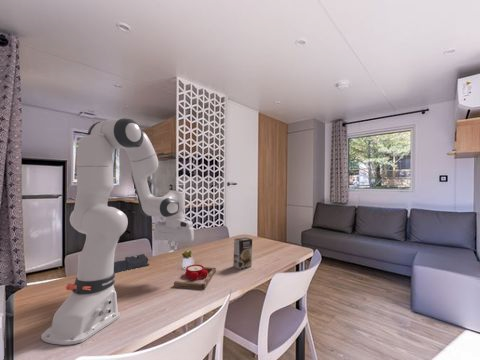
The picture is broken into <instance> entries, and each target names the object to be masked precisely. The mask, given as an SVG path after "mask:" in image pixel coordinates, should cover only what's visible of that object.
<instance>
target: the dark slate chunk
mask: <svg viewBox="0 0 480 360" xmlns="http://www.w3.org/2000/svg"><path fill="white" fill-rule="evenodd" d="M148 261H149V258H148V257H147V256H146V255H145V254H144V253H142V254H138V255H136V256H133V255H132V256H125V257H124V260H117V261H114V272H115V274H118V273H123V272H127V270H128V271H131V269H132V270H136V268H137V269H141V268H146V267H149V266H150V265H151V264H150V263H148ZM122 271H123V272H122Z"/></svg>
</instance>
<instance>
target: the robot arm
mask: <svg viewBox="0 0 480 360" xmlns="http://www.w3.org/2000/svg"><path fill="white" fill-rule="evenodd" d="M142 129H143V128H142V127H141V126H140V124H139V123H138V122H137V121H136V120H134V119H130V118H120V119H119V118H118V119H117V118H116V119H113V118H112V119H111V118H110V119H106V120H103V121H98V122H94V123H93V124H92V125H91V126H90V127H89V129H88V131H87V134H86V135H84V136H82V137H81V138H79V139H78V143H77V148H76V158H75V159H76V161H75V163H76V183H77V184H76V185H77V186H76V187H77V188H76V189H77V190H76V197H75V201H74V202H75V203H74V208H73V210H72V211H71V213H70V216H69V223H70V225H71V227H72V228H73V229H74V230H75V231H77V232H78V233H81V234H84V235H85V241H84V245H83V248H82V250H81V251H80V252H79V254H78V256H77V273H76V274H77V276H76V277H75V280H74V283H67V284H66V286H65V290H66V291H71V293H70V294H69V295H68V296H67V298H66V299H65V300H64V301H63V303H62V304H61V305H60V306H59V308H57V310H56V312H54V315H53V317H52V323H51V326H49V327H48V328H47V329H46V330H45V331H44V332H43V333H42V334H41V335H40V338H41V340H42V341H43V342H45V343H48V344H53V345H63V346H64V345H65V346H67V345H69V346H70V345H76V344H79V343H83V342H84V341H86V340H87V339H89V338H90V337H93V335H96V334H97V333H98V332H99V331H101V330H103V329H104V328H106V327H107V326H108V325H111V324H112V323H114V322H115V321H116V320H118V319H119V318H120V317H121V313H120V312H119V311H118V300H117V299H118V298H117V297H118V296H117V291H116V290H115V286H114V284H115V283H116V282H115V281H116V273H115V272H114V262H115V253H116V248H117V244H118V242H119V240H120V237H121V236H122V235H123V234H124V233H125V232H126V231H127V228H128V224H129V223H128V222H129V220H128V217H127V214H126V213H124V212H123V211H122V210H121V209H118V208H116V207H114V206H108V205H109V204H108V203H109V198H110V195H111V192H112V191H113V190H114V188H115V178H114V177H115V176H114V164H113V163H114V161H113V154H114V151H115V149H116V150H119V149H120V150H121V149H123V150H124V151H125V152H126V154H127V157H128V160H129V163H130V165H131V169H132V170H131V179H132V182H133V186H134V189H135V193H136V197H137V200H138V210H139V212H140V214H141V215H143V216H145V217H156V218H157V217H159V218H160V217H161V218H165V221H164V220H163V221H161V220H158V221H157V222H155V224H154V228H155V230H154V234H153V239H154V240H155V241H156V240H157V241H167V244H168V246H169V250H170V251H171V250H173V251H176V250H177V247H178V245H179V244H180V242H181V243H182V242H184V243H192V242H193V241H194V239H195V231H194V230H195V229H194V227H193V224H194V223H193V221H191V220H188V219H186V218H185V215H184V214H185V213H184V210H185V205H186V204H185V202H186V201H185V199H186V198H185V194H184V192H183V191H181V190H177V189H175V190H174V189H170V190H168V193H166V194H165V195H162V196H155V195H153V194H152V193H151V190H150V187H149V183H148V178H149V177H150V176H152V175H153V174H155V173H156V172H157V171H158V168H159V158H158V156H157V152H156V151H155V148H154V146H153V144H152V142H151V140H150V138H149V137H148V135H147V134H146V132H145V131H143V130H142ZM173 242H174V245H173Z"/></svg>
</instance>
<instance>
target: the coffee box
mask: <svg viewBox="0 0 480 360" xmlns="http://www.w3.org/2000/svg"><path fill="white" fill-rule="evenodd" d="M233 240H234V241H233V260H232V261H233V262H232V263H233V264H232V267H233V268H236V269H238V270H242V269H241V268H243V269H246V268H245V267H247V268H250V267H249V266H251V267H252V265H253V264H252V262H253V261H252V258H253V257H252V256H253V238H249V237H247V236H246V237H239V238H238V237H237V238H234V239H233Z"/></svg>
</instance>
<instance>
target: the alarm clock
mask: <svg viewBox="0 0 480 360" xmlns="http://www.w3.org/2000/svg"><path fill="white" fill-rule="evenodd" d="M204 267H205V266H203V265H202V264H190V265H188V266H186V267H183V268H184V269H185V273H184V277H185V278H187V279H190V280H191V281H197V280H198V279H206V277H207V276H208V274H209V272H208V271H207V270H204Z"/></svg>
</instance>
